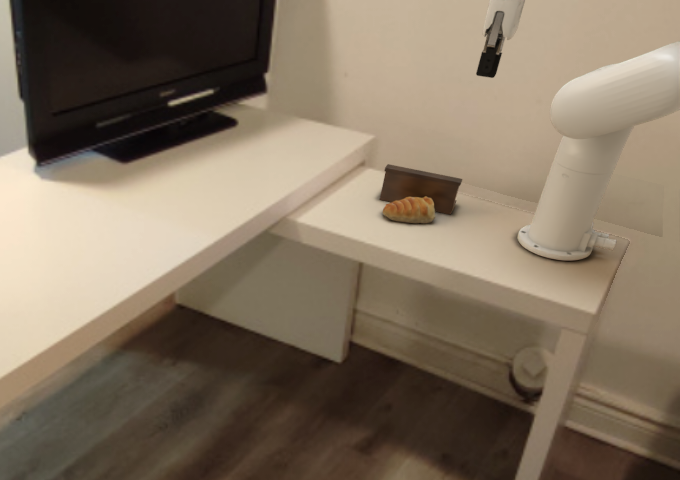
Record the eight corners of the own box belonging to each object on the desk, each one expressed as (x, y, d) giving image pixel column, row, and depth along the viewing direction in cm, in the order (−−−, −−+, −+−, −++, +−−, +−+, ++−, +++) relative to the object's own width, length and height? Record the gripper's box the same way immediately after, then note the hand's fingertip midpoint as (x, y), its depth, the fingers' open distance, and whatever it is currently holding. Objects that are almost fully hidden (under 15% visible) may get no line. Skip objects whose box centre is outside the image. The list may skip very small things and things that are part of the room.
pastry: (388, 225, 150) (392, 206, 148) (376, 210, 155) (380, 191, 153) (436, 224, 151) (441, 205, 149) (422, 208, 156) (427, 190, 154)
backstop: (456, 206, 157) (465, 173, 153) (451, 215, 154) (460, 182, 150) (384, 190, 162) (391, 159, 158) (378, 199, 159) (385, 167, 155)
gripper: (535, -28, 124) (501, 90, 136) (546, -44, 135) (513, 67, 146) (485, -33, 127) (456, 83, 138) (500, -48, 137) (471, 61, 149)
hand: (485, 75), depth 142 cm, fingers closed
